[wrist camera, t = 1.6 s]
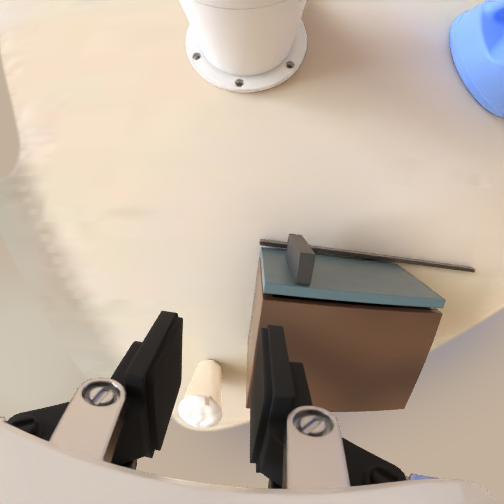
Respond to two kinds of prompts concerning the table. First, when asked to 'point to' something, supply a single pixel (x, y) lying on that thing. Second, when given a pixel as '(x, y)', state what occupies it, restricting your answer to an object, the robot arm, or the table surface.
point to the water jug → (481, 53)
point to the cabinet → (349, 342)
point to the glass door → (340, 278)
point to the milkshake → (203, 396)
